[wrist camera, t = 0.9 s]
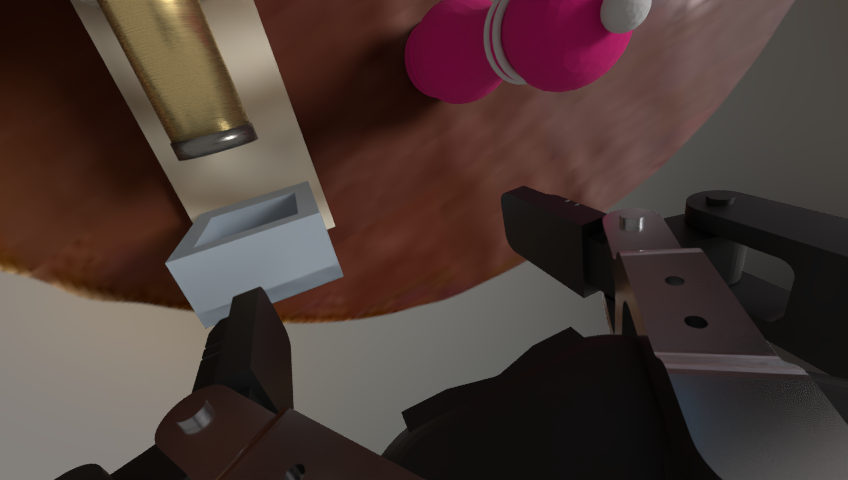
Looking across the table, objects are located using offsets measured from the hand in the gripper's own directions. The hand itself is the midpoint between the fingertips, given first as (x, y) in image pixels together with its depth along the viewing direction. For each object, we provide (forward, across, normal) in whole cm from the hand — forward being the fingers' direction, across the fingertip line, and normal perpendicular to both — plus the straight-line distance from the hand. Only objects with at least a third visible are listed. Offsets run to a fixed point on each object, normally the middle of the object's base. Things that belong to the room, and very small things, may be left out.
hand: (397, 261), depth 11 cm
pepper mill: (+22, -12, -5) cm, 26 cm away
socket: (+22, +6, +4) cm, 23 cm away
